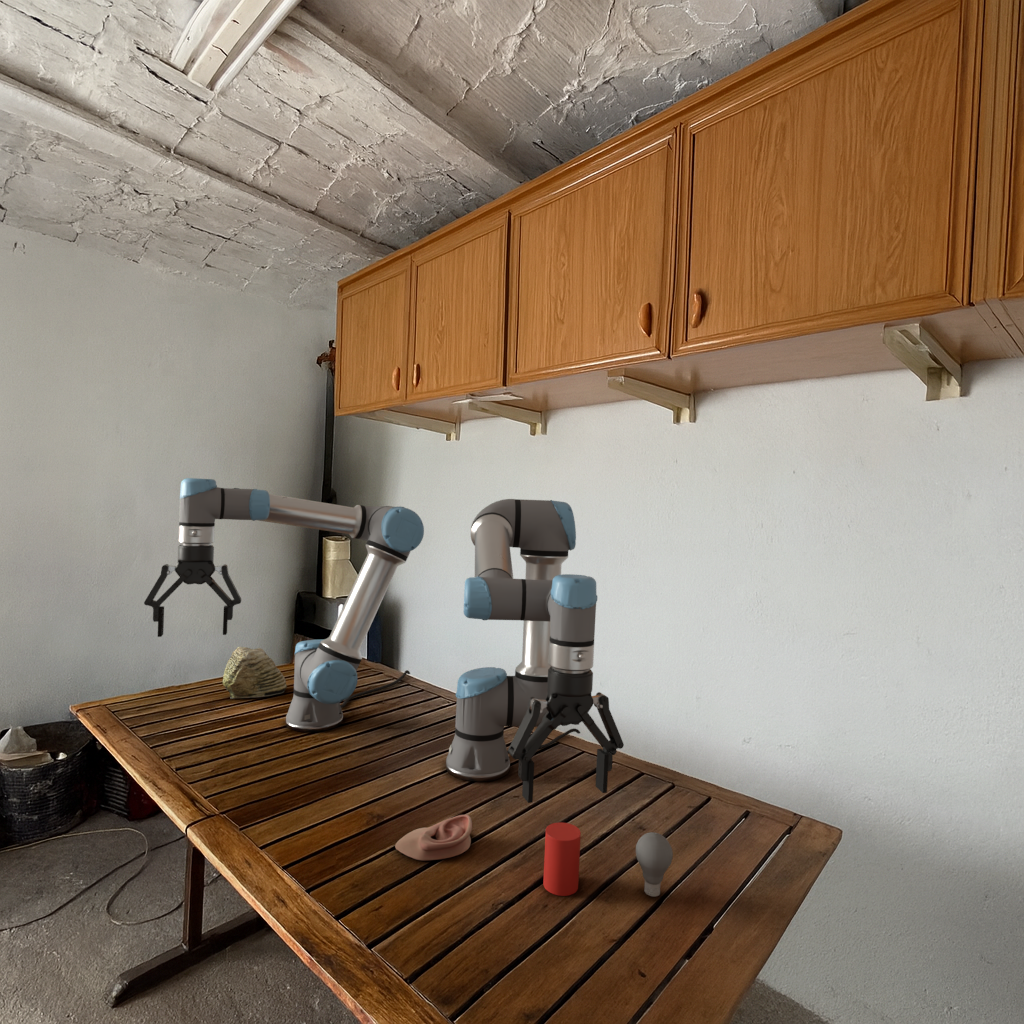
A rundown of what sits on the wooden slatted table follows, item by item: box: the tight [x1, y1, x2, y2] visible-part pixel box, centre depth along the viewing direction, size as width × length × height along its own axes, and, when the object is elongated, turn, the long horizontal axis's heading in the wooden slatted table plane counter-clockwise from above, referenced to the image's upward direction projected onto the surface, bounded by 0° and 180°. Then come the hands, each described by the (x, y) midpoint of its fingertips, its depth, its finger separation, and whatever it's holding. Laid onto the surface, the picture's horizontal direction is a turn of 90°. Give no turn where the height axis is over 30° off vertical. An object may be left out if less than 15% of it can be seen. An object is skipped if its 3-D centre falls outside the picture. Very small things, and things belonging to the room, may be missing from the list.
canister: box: [542, 821, 582, 897], centre depth 107 cm, size 6×6×9 cm
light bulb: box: [635, 831, 674, 897], centre depth 105 cm, size 6×6×10 cm
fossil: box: [222, 646, 288, 699], centre depth 198 cm, size 9×18×15 cm, turn 132°
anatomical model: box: [394, 814, 473, 861], centre depth 117 cm, size 13×4×12 cm
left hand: (193, 634), depth 148 cm, fingers open, 13 cm apart
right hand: (565, 794), depth 106 cm, fingers open, 13 cm apart
